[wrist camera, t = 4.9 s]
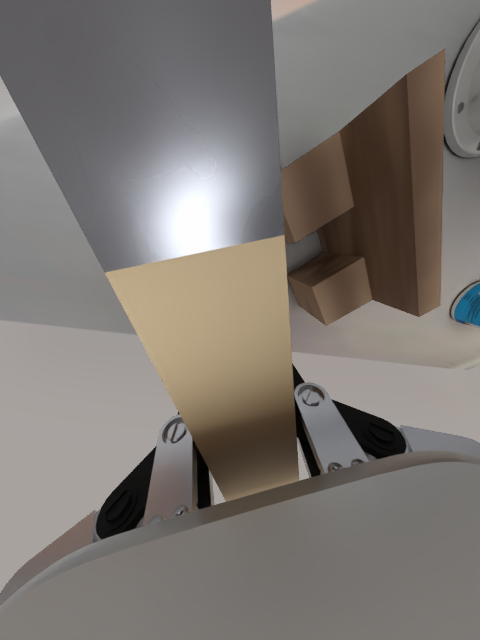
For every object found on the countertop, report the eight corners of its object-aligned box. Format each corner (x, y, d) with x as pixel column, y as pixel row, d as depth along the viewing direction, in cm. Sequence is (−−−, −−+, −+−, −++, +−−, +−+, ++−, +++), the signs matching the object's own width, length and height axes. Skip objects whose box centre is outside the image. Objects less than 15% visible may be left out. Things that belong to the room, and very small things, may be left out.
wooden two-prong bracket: (313, 155, 19) (445, 47, 8) (345, 278, 26) (440, 305, 15) (251, 197, 20) (300, 146, 9) (299, 305, 27) (358, 349, 16)
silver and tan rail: (137, 136, 6) (-270, -434, 1) (217, 123, 6) (244, -430, 1) (223, 395, 13) (231, 511, 7) (262, 384, 13) (299, 491, 7)
